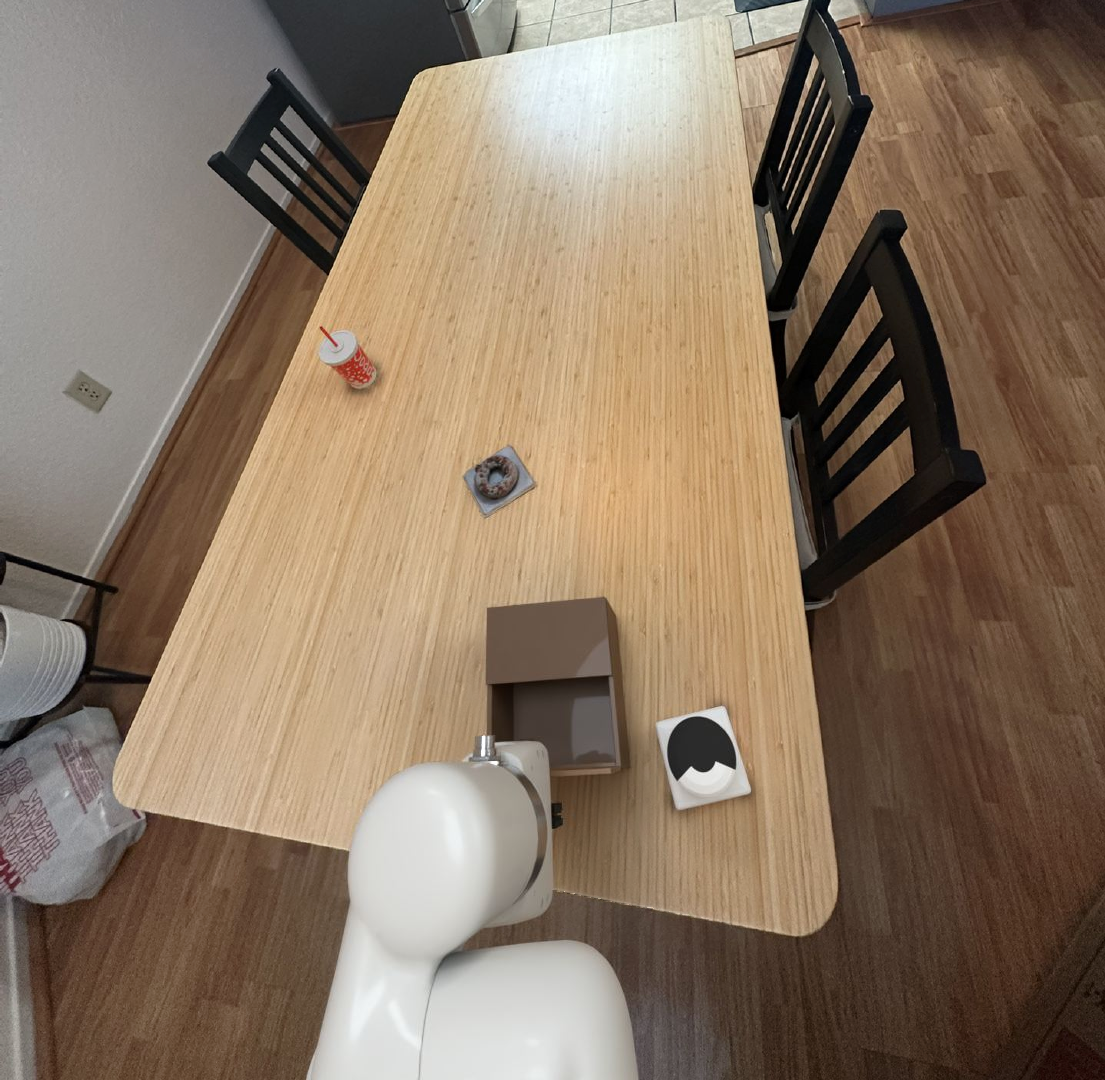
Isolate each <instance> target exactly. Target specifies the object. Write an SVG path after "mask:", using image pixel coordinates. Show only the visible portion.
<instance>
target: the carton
mask: <svg viewBox="0 0 1105 1080" xmlns="http://www.w3.org/2000/svg"><path fill="white" fill-rule="evenodd" d="M485 637H486V638H485V639H486V641H485V645H486V646H485V685H486V686H487V689H486V692H487V693H486V694H487V695H486V736H487V735H495V742H509V741H519V739H532V738H534V739H535V741H536V742H540V743H542V744H543V745H544V746H545V748H546V749H547V751H548V758H549V769H566V768H584V767H603V766H620V770H623V769H624V770H625V769H631V767H632V766H631V757H630V746H629V745H630V744H629V735H628V725H627V714H626V702H625V694H624V683H623V673H622V662H621V661H622V660H621V652H620V651H621V650H620V641H619V630H618V619H617V615H616V613H615V611H614V609H613V607H612V605H611V604H610V602H609V600H608V598H607V597H606V596H599V597H589V598H577V599H576V598H575V599H566V600H555V601H544V602H534V603H533V602H531V603H521V604H512V605H500V606H491V607H486V635H485Z"/></svg>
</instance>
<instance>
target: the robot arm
mask: <svg viewBox="0 0 1105 1080" xmlns="http://www.w3.org/2000/svg"><path fill="white" fill-rule="evenodd" d="M563 808H564V806H563V802H559V801H558V802H552V793H551V777H550V772H549V758H548V751H547V749H546V748H545V746H544V745H543V744H542V743H540V742H536V741H535V739H534V738H532V739H519V741H509V742H495V735H487V734H486V735H476V736H474V749H472V750H471V751H470V752H469V753H468V754H466V755H465V757H464V758H463V759H462V760H461V761H442V760H441V761H438V760H437V761H435V760H434V761H427V762H421V763H417V764H413V765H409V766H408V767H405V768H403V769H402V770H400V771H398V772H396V773H395V774H393V775H392V776H391V777H390V778H388V779H387V780H386V781H385V782H384V783H383V784H382V785H381V786H380V787H379V788H378V789H377V790H376V792H375V793H374V794H373V795H372V796H371V798H370V799H369V801H368V802H367V804H366V806H365V807H364V809H363V811H362V813H361V814H360V816H359V819H358V822H357V824H356V826H355V829H354V832H353V834H352V839H351V842H350V846H349V851H348V859H347V887H348V896H349V906H348V911H347V916H346V920H345V924H344V929H343V934H342V938H341V943H340V947H339V952H338V958H337V960H336V961H337V962H336V966H335V970H334V975H333V979H332V983H331V987H330V991H329V995H328V999H327V1004H326V1007H325V1012H324V1016H323V1019H322V1024H321V1027H320V1032H319V1035H318V1041H317V1046H316V1048H315V1050H314V1053H313V1055H312V1058H311V1060H310V1063H309V1066H308V1071H307V1074H306V1078H305V1080H640V1079H639V1071H638V1062H637V1055H636V1054H637V1053H636V1049H635V1041H634V1032H633V1026H632V1021H631V1015H630V1012H629V1008H628V1003H627V1000H626V996H625V993H624V991H623V988H622V985H621V983H620V980H619V978H618V976H617V974H616V972H615V970H614V968H613V966H612V965H611V963H610V962H609V961H608V959H607V958H606V957H604V955H603V954H601V952H600V951H598V950H597V949H596V948H595V947H593V946H591V945H590V944H588V943H585V942H582V941H578V940H572V939H560V940H557V939H556V940H546V941H545V940H544V941H534V942H523V943H522V942H521V943H514V944H507V945H499V946H491V947H484V948H483V947H482V948H476V949H468V950H463V948H464V946H465V944H466V943H467V941H468V940H469V939H471V938H472V937H474V936H475V935H477V933H479V932H480V931H481V930H483V929H488V928H489V929H490V928H496V927H503V926H511V925H515V924H520V923H523V922H526V921H529V920H533V919H536V918H539V917H540V916H541V915H543V914H544V913H546V911H547V910H548V909H549V907H550V905H551V903H552V901H553V896H554V859H553V858H554V855H553V840H554V839H553V830H556V829H559V828H561V827H563V826H564V817H562V811H563Z"/></svg>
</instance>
